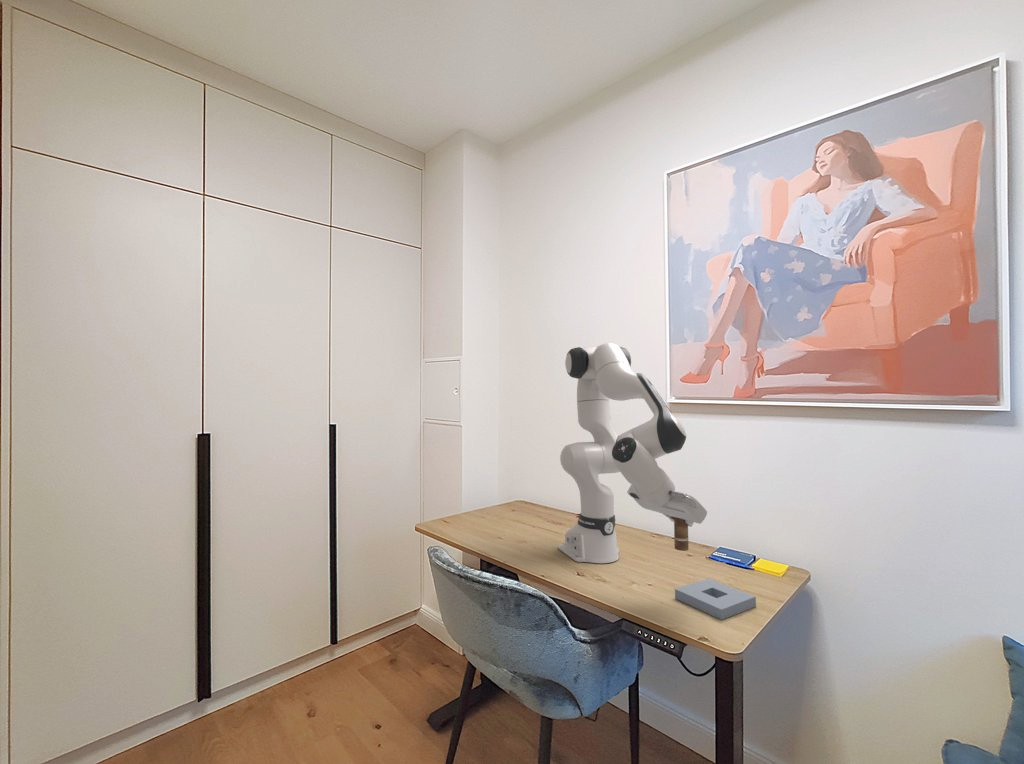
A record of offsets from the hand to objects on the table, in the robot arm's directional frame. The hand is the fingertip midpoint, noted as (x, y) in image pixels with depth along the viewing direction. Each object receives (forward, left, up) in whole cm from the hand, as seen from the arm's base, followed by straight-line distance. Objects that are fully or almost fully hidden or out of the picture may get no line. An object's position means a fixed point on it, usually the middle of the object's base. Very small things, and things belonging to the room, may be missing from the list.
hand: (682, 521), depth 124 cm
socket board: (+5, +6, -21) cm, 22 cm away
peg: (0, -1, -7) cm, 7 cm away
